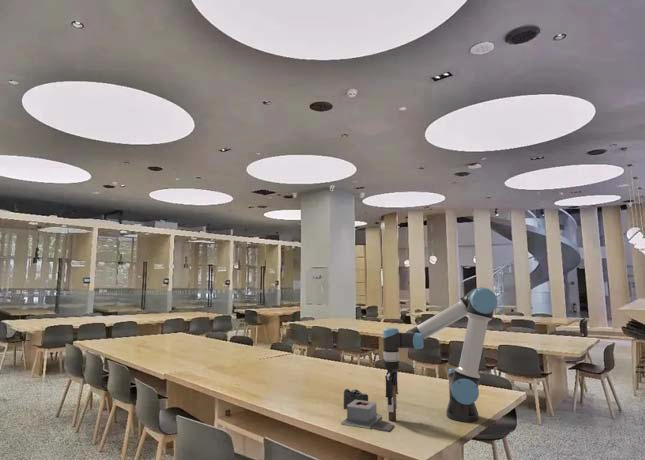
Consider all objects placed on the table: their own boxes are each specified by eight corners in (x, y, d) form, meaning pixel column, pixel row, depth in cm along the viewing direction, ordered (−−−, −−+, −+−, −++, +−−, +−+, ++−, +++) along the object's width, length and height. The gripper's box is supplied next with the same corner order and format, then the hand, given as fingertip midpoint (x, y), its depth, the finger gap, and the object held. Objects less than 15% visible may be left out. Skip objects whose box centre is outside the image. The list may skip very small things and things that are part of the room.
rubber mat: (394, 426, 186) (394, 424, 186) (389, 431, 178) (389, 430, 178) (377, 423, 189) (377, 422, 189) (372, 429, 182) (372, 427, 182)
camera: (375, 409, 212) (375, 389, 214) (365, 414, 204) (364, 393, 205) (352, 404, 221) (352, 385, 222) (341, 409, 212) (341, 389, 214)
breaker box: (381, 417, 198) (381, 400, 199) (370, 428, 182) (369, 410, 183) (354, 413, 204) (354, 397, 205) (341, 424, 188) (341, 406, 189)
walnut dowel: (397, 419, 195) (396, 385, 197) (395, 421, 192) (394, 386, 194) (389, 418, 196) (389, 384, 199) (387, 420, 193) (387, 386, 195)
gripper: (388, 356, 208) (389, 404, 204) (378, 362, 191) (379, 414, 188) (403, 357, 205) (404, 406, 201) (393, 363, 188) (394, 416, 185)
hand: (392, 409), depth 195 cm, fingers open, 5 cm apart
